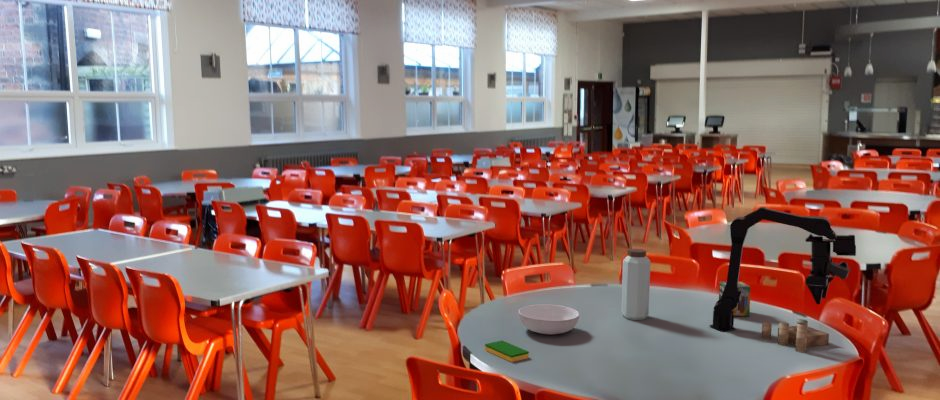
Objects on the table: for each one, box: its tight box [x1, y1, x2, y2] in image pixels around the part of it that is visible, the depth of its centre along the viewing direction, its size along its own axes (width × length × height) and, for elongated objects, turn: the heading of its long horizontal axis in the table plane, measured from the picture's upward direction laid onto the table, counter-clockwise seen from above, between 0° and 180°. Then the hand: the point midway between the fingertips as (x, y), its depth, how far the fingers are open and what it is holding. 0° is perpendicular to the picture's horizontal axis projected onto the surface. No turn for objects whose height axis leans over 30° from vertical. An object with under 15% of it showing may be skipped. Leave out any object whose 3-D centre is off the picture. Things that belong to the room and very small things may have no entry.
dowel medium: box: [777, 321, 790, 346], centre depth 245 cm, size 3×3×7 cm
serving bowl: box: [518, 303, 580, 336], centre depth 258 cm, size 21×21×7 cm
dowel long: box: [795, 318, 809, 353], centre depth 238 cm, size 3×3×10 cm
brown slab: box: [777, 325, 830, 348], centre depth 249 cm, size 11×11×4 cm
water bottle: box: [620, 248, 651, 321], centre depth 274 cm, size 10×10×25 cm
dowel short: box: [761, 321, 773, 340], centre depth 252 cm, size 3×3×5 cm
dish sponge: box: [484, 340, 530, 363], centre depth 234 cm, size 7×14×2 cm, turn 35°
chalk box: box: [718, 281, 751, 317], centre depth 281 cm, size 9×9×15 cm
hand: (821, 301), depth 248 cm, fingers open, 9 cm apart
